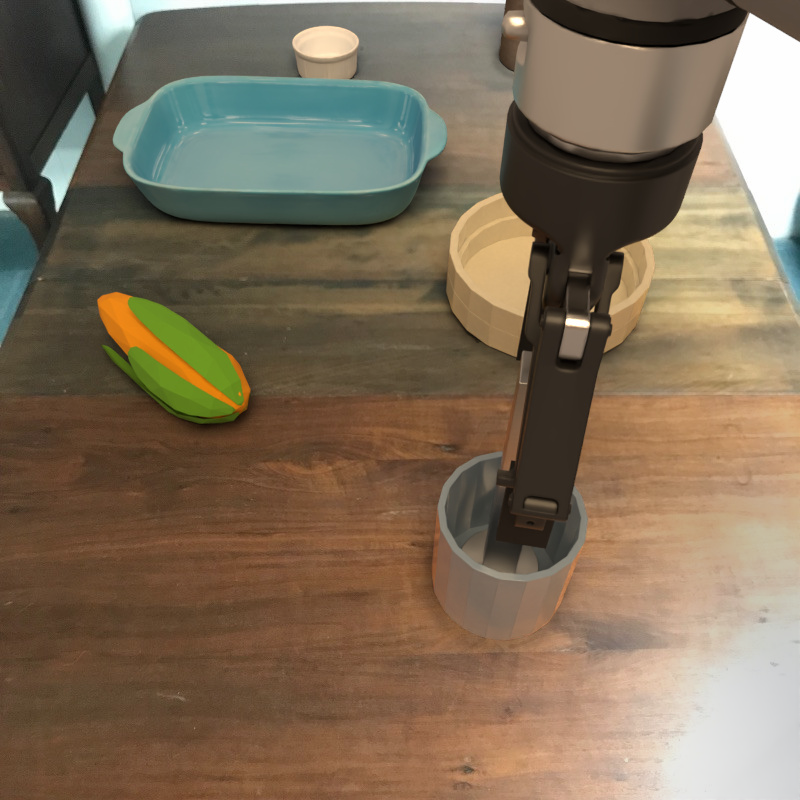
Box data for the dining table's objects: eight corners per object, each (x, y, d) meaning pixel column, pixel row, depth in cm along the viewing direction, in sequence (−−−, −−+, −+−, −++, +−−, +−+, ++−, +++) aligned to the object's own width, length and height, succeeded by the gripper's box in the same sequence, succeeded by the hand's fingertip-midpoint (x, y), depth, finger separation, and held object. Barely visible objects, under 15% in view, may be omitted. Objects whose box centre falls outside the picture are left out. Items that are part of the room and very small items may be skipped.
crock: (589, 594, 60) (619, 528, 52) (486, 669, 57) (501, 610, 49) (505, 501, 65) (521, 429, 58) (405, 564, 62) (408, 496, 54)
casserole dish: (104, 236, 86) (85, 180, 80) (153, 122, 100) (140, 68, 95) (443, 249, 85) (446, 193, 80) (444, 132, 99) (448, 79, 94)
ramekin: (286, 63, 110) (282, 32, 106) (345, 50, 112) (343, 20, 109) (308, 94, 105) (306, 63, 101) (370, 80, 107) (369, 49, 104)
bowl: (680, 312, 80) (698, 267, 75) (531, 398, 72) (541, 354, 68) (550, 211, 90) (559, 166, 85) (408, 278, 82) (409, 232, 78)
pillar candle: (488, 47, 113) (500, -67, 102) (551, 37, 115) (569, -76, 104) (514, 81, 107) (530, -36, 96) (580, 70, 109) (602, -45, 98)
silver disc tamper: (551, 585, 60) (624, 380, 42) (489, 628, 58) (538, 432, 39) (501, 528, 63) (548, 313, 45) (441, 566, 61) (464, 358, 42)
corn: (196, 402, 62) (50, 284, 70) (208, 462, 67) (72, 346, 76) (267, 354, 66) (121, 248, 74) (273, 415, 71) (136, 309, 79)
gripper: (531, -35, 38) (489, 291, 55) (471, 323, 23) (436, 626, 39) (690, -21, 37) (598, 305, 54) (737, 359, 22) (588, 652, 39)
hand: (530, 441), depth 47 cm, fingers open, 13 cm apart
